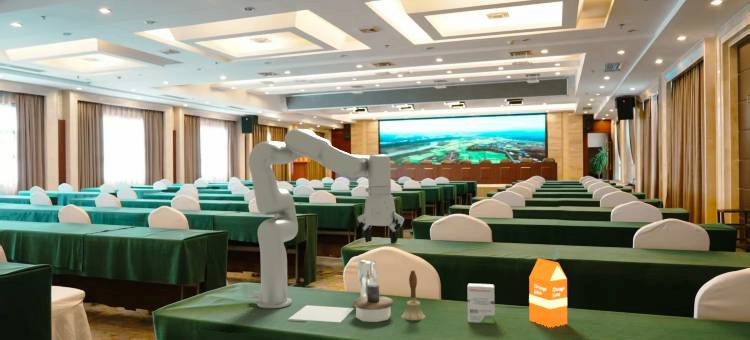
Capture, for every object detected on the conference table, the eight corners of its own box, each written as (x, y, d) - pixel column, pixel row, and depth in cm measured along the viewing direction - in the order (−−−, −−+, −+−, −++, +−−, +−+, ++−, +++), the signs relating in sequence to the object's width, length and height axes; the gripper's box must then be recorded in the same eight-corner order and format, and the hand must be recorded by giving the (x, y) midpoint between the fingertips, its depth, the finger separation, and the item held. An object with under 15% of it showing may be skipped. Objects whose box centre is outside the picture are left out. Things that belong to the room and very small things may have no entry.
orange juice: (549, 328, 160) (549, 264, 160) (529, 320, 168) (528, 259, 167) (567, 324, 164) (567, 261, 163) (546, 316, 171) (546, 256, 171)
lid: (348, 308, 167) (348, 289, 167) (360, 297, 179) (359, 280, 179) (387, 310, 164) (387, 292, 164) (396, 299, 176) (396, 282, 176)
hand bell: (427, 321, 168) (427, 273, 167) (402, 322, 167) (402, 273, 167) (423, 314, 176) (423, 267, 175) (399, 315, 175) (399, 268, 175)
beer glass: (378, 299, 195) (377, 260, 195) (376, 304, 188) (375, 263, 188) (359, 299, 196) (359, 259, 195) (357, 304, 189) (356, 263, 188)
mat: (288, 320, 170) (288, 318, 170) (306, 307, 186) (306, 305, 186) (340, 324, 166) (340, 322, 166) (354, 309, 182) (354, 308, 182)
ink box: (494, 319, 169) (494, 283, 169) (494, 324, 165) (494, 287, 164) (468, 317, 171) (468, 282, 171) (467, 322, 167) (467, 286, 166)
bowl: (353, 322, 168) (353, 307, 168) (362, 313, 178) (362, 298, 178) (385, 325, 165) (385, 309, 165) (392, 315, 176) (392, 300, 175)
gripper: (352, 192, 174) (353, 242, 174) (397, 192, 166) (399, 245, 166) (363, 190, 181) (364, 239, 181) (407, 191, 172) (409, 242, 173)
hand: (381, 242), depth 174 cm, fingers open, 9 cm apart
